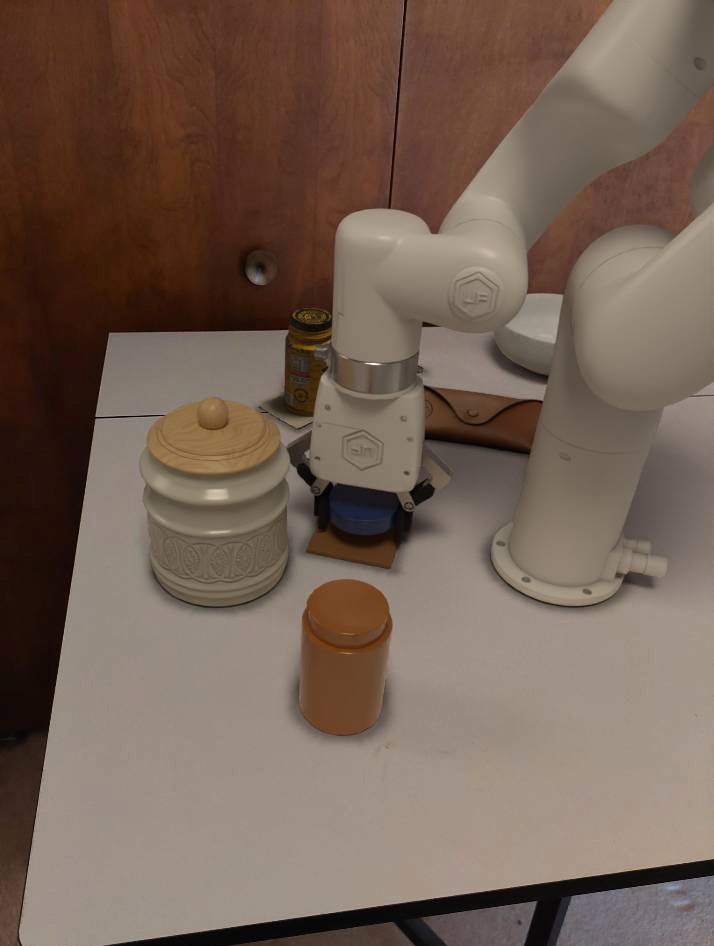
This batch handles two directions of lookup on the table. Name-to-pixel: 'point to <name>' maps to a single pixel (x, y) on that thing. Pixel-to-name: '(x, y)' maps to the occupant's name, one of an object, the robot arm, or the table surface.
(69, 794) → the table surface
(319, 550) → the coaster
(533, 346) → the cereal bowl
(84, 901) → the table surface
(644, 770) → the table surface
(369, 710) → the jam jar
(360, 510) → the lid
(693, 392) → the robot arm
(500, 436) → the sunglasses case
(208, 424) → the jar
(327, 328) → the condiment
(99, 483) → the table surface
